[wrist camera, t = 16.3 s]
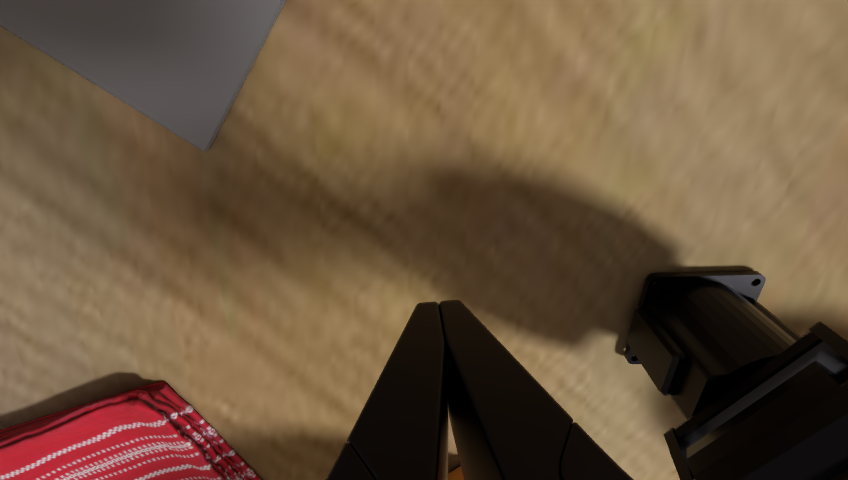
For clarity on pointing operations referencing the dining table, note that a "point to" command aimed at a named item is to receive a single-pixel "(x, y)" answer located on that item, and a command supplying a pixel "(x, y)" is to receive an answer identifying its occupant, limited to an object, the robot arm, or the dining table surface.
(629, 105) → the dining table surface
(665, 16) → the dining table surface
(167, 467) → the dish towel
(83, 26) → the placemat
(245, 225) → the dining table surface
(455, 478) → the coffee package
